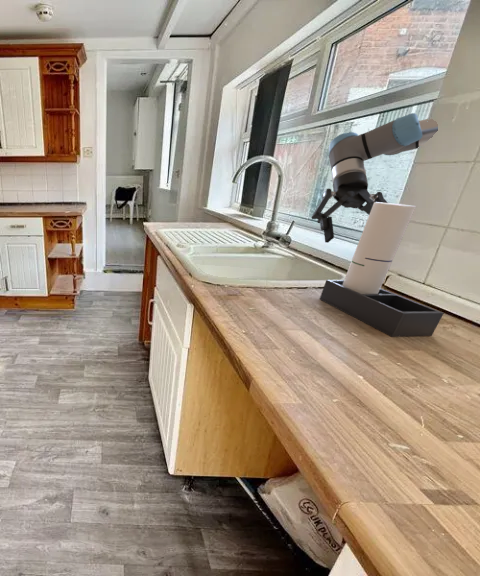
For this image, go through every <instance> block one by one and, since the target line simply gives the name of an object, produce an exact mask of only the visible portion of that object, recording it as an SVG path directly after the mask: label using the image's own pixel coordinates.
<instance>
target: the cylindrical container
mask: <svg viewBox="0 0 480 576" xmlns="http://www.w3.org/2000/svg"><path fill="white" fill-rule="evenodd" d="M416 208H417V205H412V204H404V203H394V202H388V203H383V202H374V204H373V207H372V209H371V212H370V214H369V215H368V217H367V220H366V223H365V226H364V227H363V230H362V233H361V235H360V238H359V240H358V243H357V246H356V248H355V251H354V254H353V256H352V258H351V261H350V264H349V267H348V269H347V272H346V274H345V277H344V279H343V280H344V282H343V285H342V286H344V287H346V288H349V289H351V290H353V291H356V292H358V293H360V294H378V293H379V290H380V288H381V289H382V286H383V283H384V281H385V279H386V277H387V274H388V272H389V270H390V267H391V265H392V263H393V260H394V259H395V256H396V253H397V251H398V249H399V247H400V245H401V242H402V240H403V238H404V235H405V233H406V231H407V229H408V226H409V224H410V221H411V219H412V217H413V215H414V212H415V210H416Z"/></svg>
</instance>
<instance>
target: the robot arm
mask: <svg viewBox="0 0 480 576" xmlns="http://www.w3.org/2000/svg"><path fill="white" fill-rule="evenodd" d="M430 118H431V119H429V120H428V118H425V119H421V120H419V116H418V115H417V113H415V112H412V113H411V112H410V113H408V114H406V115H404V116H401V117H397V118H395V119H393V120H392V121H389V122H386V123H384V124H382V125H380V126H378V127H375V128H373V129H371V130H369V131H367V132H366V131H365V132H364V133H361V134H358V133H356V132H354V131H349V132H342V133H341V134H339V135H336V136H335V137H334V138H333V139H332V140H331V141H330V143H329V145H328V159H329V160H328V161H329V165H330V172H331V173H330V174H331V180H332V189H333V191H332V189H331V188H326V189H325V191H324V192H323V194H322V195H321V200H320V202H319V204H318V205H317V207H316V208H315V210H314V212H313V213H312V215H311V219H312V220H316V223H317V224H319V228H320V230H321V231H323V234H324V243H330V242H331V241H332V240H333V239H334V238H335V233H334V225H333V224H334V223H333V217H332V216H331V215H332V214H333V213H334V212H335V211H336V210H338V209H339V208H340V207H341V206H342V207H344V209H345V208H346V209H349V208H351V209H358V210H360V211H361V212H365V213H366V214H367V215H368V216H369V214H370V212H371V209H372V207H373V204H374V202H383V203H389V202H388V201H387V200H386V199H385V197H384V195H383V192H381V191H377V192H375V193H370V192H369V191H368V188H369V181H368V176H367V170H366V166H365V161H368V160H371V159H374V158H377V157H378V156H381V155H385V156H394V155H399V154H401V153H403V152H409V151H412V150H418V149H419V148H418V147H419V146H423V145H424V144H425V143H426V142H427V141H428V140H429V139H430V138H432V137H433V135H434V134H435V133H436V132H437V131H438V124H437V122H436V121H434V120H433V119H432V117H430ZM427 121H428V122H427ZM331 199H334V200H336V202H334V204H333V205H332V206H331V207H329V208H328V209H327V210H326V211H325V212H324V213H323V210H324V208H325V207H326V206H327V204H328V202H329V200H331Z"/></svg>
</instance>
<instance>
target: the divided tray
mask: <svg viewBox="0 0 480 576" xmlns="http://www.w3.org/2000/svg"><path fill="white" fill-rule="evenodd" d="M343 282H344V279H326V280H325V283H324V285H323V288H322V291H321V294H320V296H319V300H320V301H322V302H324V303H326V304H328V305H330V306H332V307H334V308H335V309H337V310H339V311H341V312H343V313H345V314H347V315H349V316H351V317H353V318H355V319H357V320H359V321H360V322H362V323H365V324H366V325H368V326H370V327H372V328H374V329H375V330H377V331H380V332H382V333H383V334H386V335H387V336H389V337H391V338H395V337H396V338H399V337H400V338H402V337H432V336H433V334H434V332H435V331H436V329H437V327H438V325H439V323H440V322H441V319H442V317H443V316H444V314H445V313H444V312H442V311H440V310H437V309H435V308H432V307H431V306H428V305H424V304H422V303H420V302H417V301H414V300H412V299H409V298H407V297H404V296H402V295H399V294H396V293H394V292H391V291H389V290H386V289H384V288H382V287H381V288H380V290H379V293H378V294H360V293H358V292H356V291H353V290H351V289H349V288H346V287H344V286H342V285H343Z"/></svg>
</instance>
